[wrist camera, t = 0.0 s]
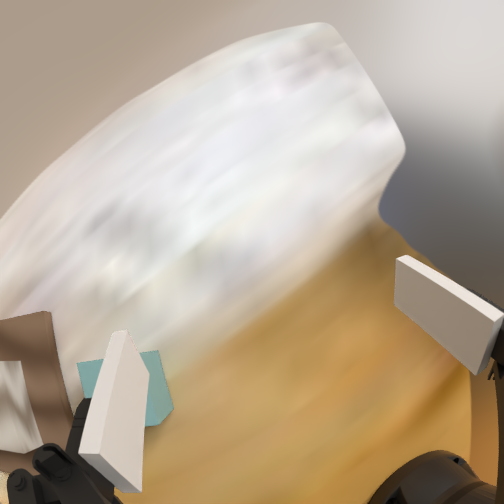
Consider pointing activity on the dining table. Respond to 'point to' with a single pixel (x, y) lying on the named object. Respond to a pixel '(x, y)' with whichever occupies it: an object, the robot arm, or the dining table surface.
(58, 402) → the base
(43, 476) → the robot arm
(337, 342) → the dining table surface
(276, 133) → the dining table surface
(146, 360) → the cube
